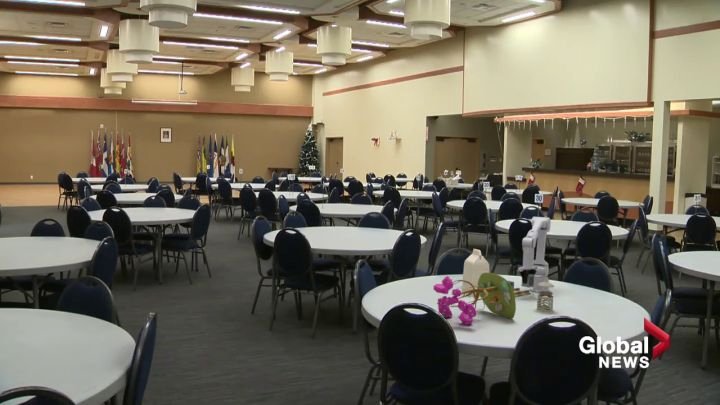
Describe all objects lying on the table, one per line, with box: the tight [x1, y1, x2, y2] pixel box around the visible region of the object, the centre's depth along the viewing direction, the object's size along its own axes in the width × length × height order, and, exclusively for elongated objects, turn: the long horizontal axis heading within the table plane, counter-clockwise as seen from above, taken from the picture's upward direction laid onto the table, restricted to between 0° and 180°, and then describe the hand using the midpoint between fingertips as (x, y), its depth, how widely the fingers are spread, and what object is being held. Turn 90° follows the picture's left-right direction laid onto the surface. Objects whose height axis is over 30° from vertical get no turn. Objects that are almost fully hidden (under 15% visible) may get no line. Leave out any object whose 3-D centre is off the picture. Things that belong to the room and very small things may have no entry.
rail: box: [507, 280, 532, 298], centre depth 372 cm, size 18×10×8 cm, turn 127°
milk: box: [461, 248, 490, 298], centre depth 369 cm, size 12×12×26 cm
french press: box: [531, 262, 556, 315], centre depth 333 cm, size 10×12×25 cm
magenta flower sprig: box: [432, 272, 517, 326], centre depth 314 cm, size 30×28×35 cm
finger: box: [521, 274, 534, 289], centre depth 361 cm, size 4×6×7 cm
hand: (527, 282), depth 362 cm, fingers closed on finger, 4 cm apart
